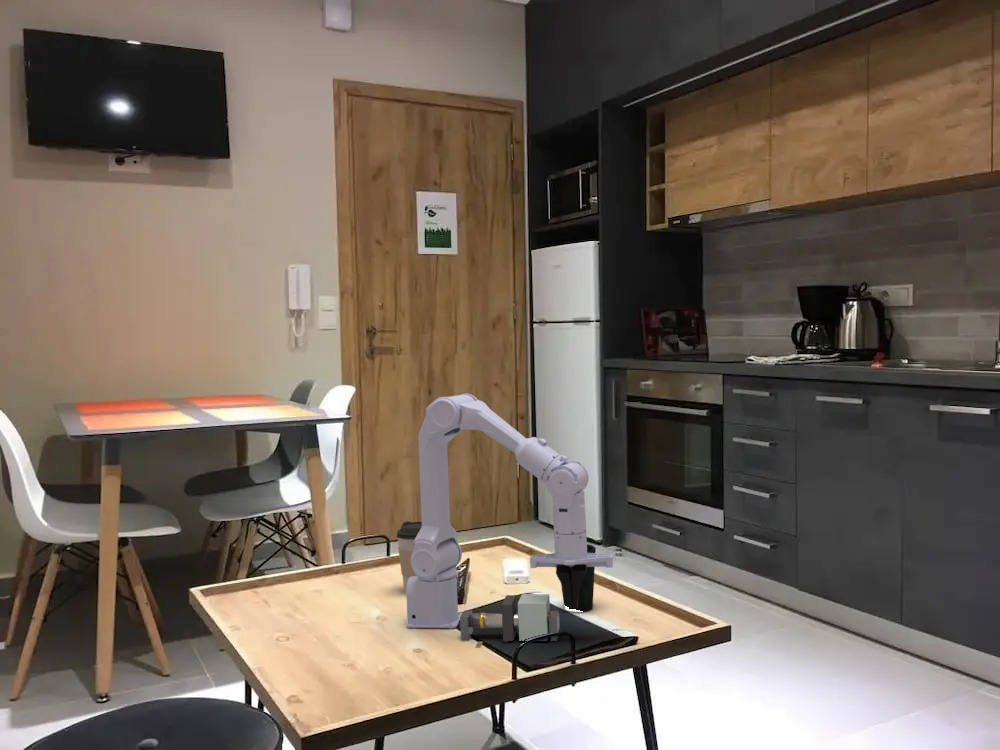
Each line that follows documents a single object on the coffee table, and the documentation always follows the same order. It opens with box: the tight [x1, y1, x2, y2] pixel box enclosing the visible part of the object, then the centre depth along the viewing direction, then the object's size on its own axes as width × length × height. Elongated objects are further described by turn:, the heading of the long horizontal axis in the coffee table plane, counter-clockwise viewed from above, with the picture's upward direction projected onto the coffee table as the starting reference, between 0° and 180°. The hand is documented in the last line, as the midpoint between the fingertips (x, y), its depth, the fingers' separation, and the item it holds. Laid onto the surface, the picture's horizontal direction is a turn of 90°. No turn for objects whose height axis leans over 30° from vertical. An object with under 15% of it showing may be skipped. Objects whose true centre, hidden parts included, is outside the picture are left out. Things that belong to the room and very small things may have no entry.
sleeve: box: [517, 593, 551, 641], centre depth 155 cm, size 5×6×7 cm
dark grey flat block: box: [501, 594, 519, 642], centre depth 155 cm, size 2×6×7 cm, turn 171°
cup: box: [560, 543, 597, 613], centre depth 170 cm, size 8×8×12 cm
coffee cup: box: [396, 520, 422, 594], centre depth 187 cm, size 9×9×15 cm
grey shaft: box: [459, 609, 561, 648], centre depth 154 cm, size 17×7×4 cm, turn 81°
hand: (573, 607), depth 153 cm, fingers closed
